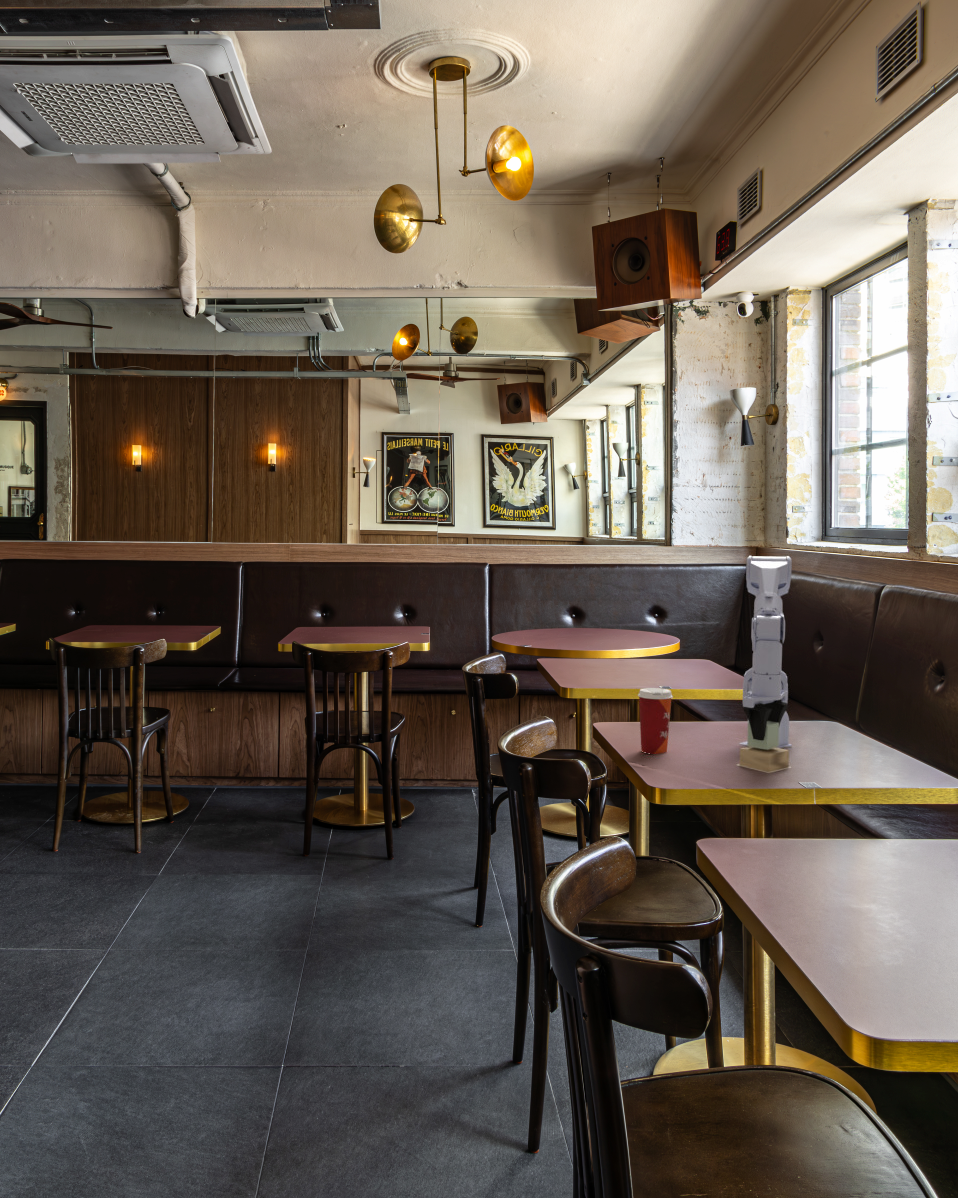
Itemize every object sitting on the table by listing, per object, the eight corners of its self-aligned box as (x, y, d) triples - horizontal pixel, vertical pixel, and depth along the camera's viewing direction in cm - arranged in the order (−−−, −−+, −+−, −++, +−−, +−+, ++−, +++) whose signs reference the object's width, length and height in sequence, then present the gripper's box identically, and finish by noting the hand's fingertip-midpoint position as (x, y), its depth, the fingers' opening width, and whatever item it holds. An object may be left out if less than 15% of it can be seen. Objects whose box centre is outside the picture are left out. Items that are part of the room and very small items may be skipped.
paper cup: (674, 756, 191) (676, 693, 190) (639, 756, 191) (640, 692, 190) (667, 748, 199) (669, 687, 198) (634, 747, 199) (635, 687, 198)
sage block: (758, 743, 185) (759, 719, 185) (778, 746, 181) (778, 722, 181) (747, 746, 182) (747, 722, 182) (767, 749, 178) (767, 725, 178)
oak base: (759, 760, 186) (760, 744, 186) (788, 767, 181) (789, 750, 181) (739, 765, 182) (739, 748, 182) (768, 772, 177) (768, 755, 176)
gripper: (767, 668, 188) (765, 730, 189) (730, 674, 179) (728, 739, 179) (797, 671, 183) (795, 735, 184) (761, 678, 173) (759, 745, 174)
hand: (764, 738), depth 181 cm, fingers closed on sage block, 4 cm apart
